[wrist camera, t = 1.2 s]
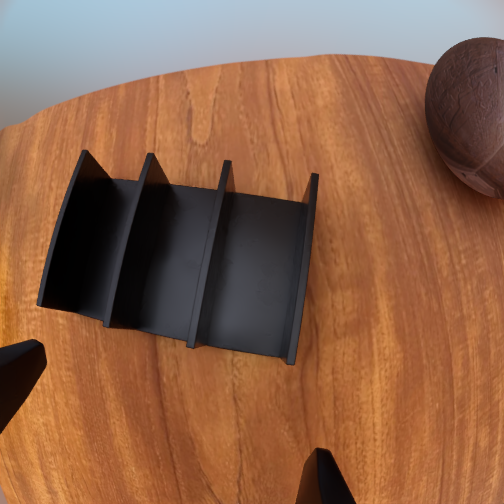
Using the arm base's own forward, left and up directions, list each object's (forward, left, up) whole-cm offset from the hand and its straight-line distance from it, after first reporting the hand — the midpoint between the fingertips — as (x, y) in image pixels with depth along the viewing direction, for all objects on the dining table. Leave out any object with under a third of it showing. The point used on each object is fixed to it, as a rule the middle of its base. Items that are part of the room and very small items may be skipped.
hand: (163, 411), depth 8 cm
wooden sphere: (+7, -30, -15) cm, 34 cm away
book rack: (+8, -1, -15) cm, 17 cm away
